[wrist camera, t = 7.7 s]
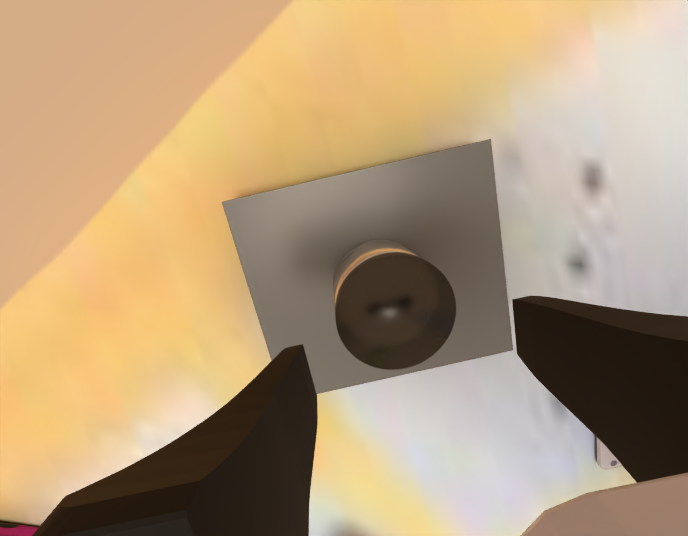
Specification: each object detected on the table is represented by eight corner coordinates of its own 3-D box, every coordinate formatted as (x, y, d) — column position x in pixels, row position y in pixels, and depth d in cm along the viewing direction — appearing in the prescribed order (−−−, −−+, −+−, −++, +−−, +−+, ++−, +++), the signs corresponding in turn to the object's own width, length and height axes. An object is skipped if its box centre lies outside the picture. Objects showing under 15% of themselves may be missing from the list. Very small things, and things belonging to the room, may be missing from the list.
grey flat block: (467, 146, 20) (490, 139, 17) (489, 329, 23) (512, 350, 20) (237, 199, 20) (221, 202, 17) (290, 373, 23) (284, 400, 20)
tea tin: (414, 227, 18) (446, 241, 13) (431, 315, 19) (464, 353, 15) (321, 252, 18) (321, 273, 13) (344, 337, 19) (351, 382, 15)
